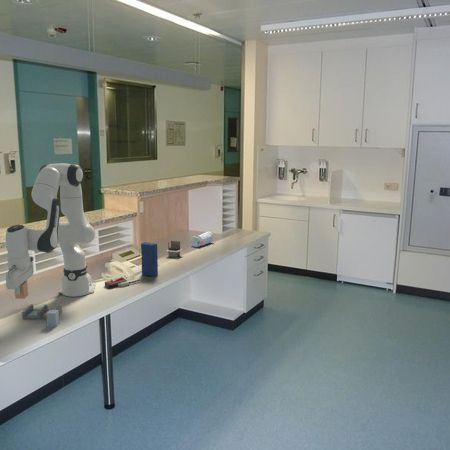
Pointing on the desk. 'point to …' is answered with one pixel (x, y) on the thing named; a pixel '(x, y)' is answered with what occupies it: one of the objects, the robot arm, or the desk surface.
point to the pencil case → (202, 239)
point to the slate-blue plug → (52, 318)
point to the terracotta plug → (22, 291)
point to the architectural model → (174, 249)
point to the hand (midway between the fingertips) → (21, 291)
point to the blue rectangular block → (149, 259)
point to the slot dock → (38, 312)
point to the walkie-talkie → (118, 282)
